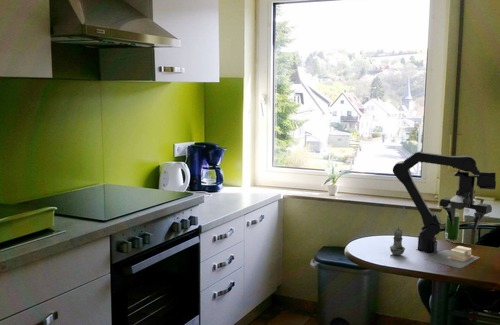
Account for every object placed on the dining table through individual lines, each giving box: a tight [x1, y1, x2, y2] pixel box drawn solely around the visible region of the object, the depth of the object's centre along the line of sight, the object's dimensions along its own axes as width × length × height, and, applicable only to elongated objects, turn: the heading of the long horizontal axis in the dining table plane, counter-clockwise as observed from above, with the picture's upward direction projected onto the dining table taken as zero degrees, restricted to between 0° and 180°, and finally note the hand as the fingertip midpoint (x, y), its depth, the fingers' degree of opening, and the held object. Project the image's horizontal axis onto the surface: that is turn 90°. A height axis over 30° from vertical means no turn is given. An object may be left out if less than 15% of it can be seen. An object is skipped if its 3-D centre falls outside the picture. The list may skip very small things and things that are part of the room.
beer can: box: [444, 211, 461, 242], centre depth 229 cm, size 5×5×12 cm
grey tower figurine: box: [389, 226, 406, 257], centre depth 204 cm, size 6×6×12 cm
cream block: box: [449, 245, 472, 261], centre depth 204 cm, size 8×5×3 cm, turn 136°
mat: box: [424, 249, 481, 269], centre depth 202 cm, size 14×18×1 cm
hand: (463, 226), depth 206 cm, fingers open, 9 cm apart
